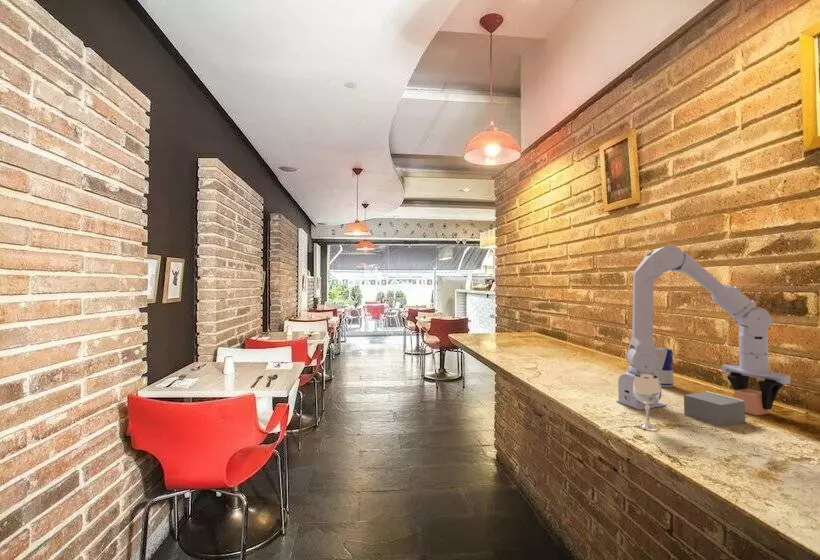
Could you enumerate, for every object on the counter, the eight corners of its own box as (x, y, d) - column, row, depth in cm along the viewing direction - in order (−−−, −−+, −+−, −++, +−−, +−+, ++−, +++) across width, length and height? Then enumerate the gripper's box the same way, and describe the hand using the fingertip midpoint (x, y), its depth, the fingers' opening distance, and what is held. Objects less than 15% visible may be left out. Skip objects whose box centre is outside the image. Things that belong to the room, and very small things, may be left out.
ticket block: (721, 426, 93) (720, 404, 93) (684, 414, 102) (683, 394, 102) (745, 422, 95) (744, 400, 95) (707, 410, 104) (706, 390, 104)
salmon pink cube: (756, 415, 100) (755, 395, 100) (734, 409, 104) (734, 390, 104) (770, 413, 101) (769, 393, 101) (748, 407, 106) (747, 388, 106)
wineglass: (652, 434, 89) (651, 380, 90) (628, 426, 95) (627, 375, 95) (667, 429, 92) (666, 377, 92) (643, 421, 97) (642, 372, 97)
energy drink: (677, 387, 126) (676, 349, 126) (660, 387, 126) (659, 350, 127) (666, 383, 132) (665, 347, 132) (650, 383, 132) (649, 347, 132)
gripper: (798, 356, 97) (799, 412, 97) (734, 347, 111) (735, 396, 111) (778, 358, 95) (780, 415, 95) (715, 349, 109) (717, 399, 109)
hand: (754, 405), depth 103 cm, fingers closed on salmon pink cube, 5 cm apart
